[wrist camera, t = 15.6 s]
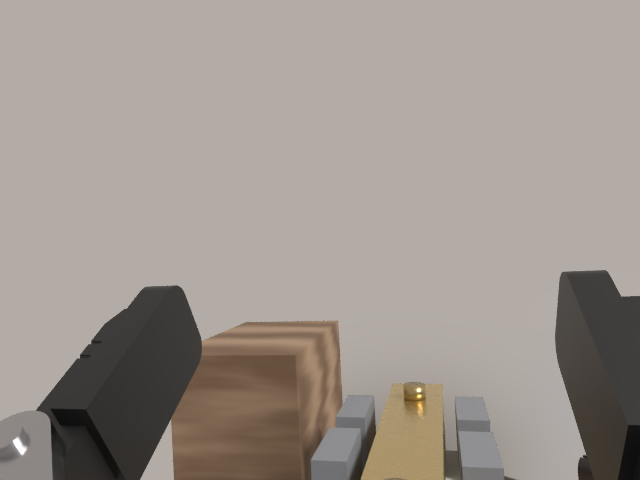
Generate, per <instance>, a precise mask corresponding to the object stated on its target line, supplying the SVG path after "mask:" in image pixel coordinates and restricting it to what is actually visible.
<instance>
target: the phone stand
mask: <svg viewBox="0 0 640 480" xmlns="http://www.w3.org/2000/svg"><path fill="white" fill-rule="evenodd" d="M578 477H579V480H594V478H593V475H592V472H591V468H590V465H589V462H588V459H587V456H585V455H583V458H580V460H579V463H578Z"/></svg>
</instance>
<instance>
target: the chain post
mask: <svg viewBox="0 0 640 480" xmlns="http://www.w3.org/2000/svg"><path fill="white" fill-rule="evenodd" d="M455 410H456V430H457V447H458V451H447V450H446V480H504V469H503V465H502V462H501V459H500V455H499V451H498V448H497V444H496V441H495V437H494V434H493V432H490V420H489V417H488V413H487V410H486V406H485V403H484V399H483V397H455ZM375 435H376V425H375V408H374V396H371V395H370V396H369V395H348V396H347V398H346V400H345V402H344V404H343V405H342V407H341V409H340V410H339V412H338V414H337V415H336V428H333V427H330V428H329V429H328V431H327V433H326V434H325V436H324V438H323V440H322V441H321V443H320V445H319V447H318V448H317V450H316V452H315V454H314V455H313V457H312V459H311V475H312V480H361V477H362V474H363V471H364V468H365V465H366V462H367V459H368V456H369V453H370V450H371V447H372V444H373V441H374V438H375Z"/></svg>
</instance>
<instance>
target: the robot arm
mask: <svg viewBox="0 0 640 480" xmlns="http://www.w3.org/2000/svg"><path fill="white" fill-rule="evenodd" d="M555 341H556V353H557V359H558V363H559V368H560V371H561V374H562V377H563V380H564V384H565V387H566V390H567V393H568V397H569V400H570V403H571V407H572V410H573V413H574V416H575V419H576V423H577V426H578V429H579V433H580V436H581V439H582V442H583V446H584V449H585V452H586V455H587V459H588V462H589V465H590V468H591V472H592V475H593V478H594V480H640V296H630V297H621V295H620V293H619V292H618V290H617V288H616V286H615V284H614V282H613V280H612V278H611V277H610V275H609V273H608V272H607V271H606V270H601V271H572V272H562V273H561V277H560V282H559V294H558V307H557V319H556V332H555ZM91 342H92V343H91V344H89V345H88V346H87V347H86V348H85V350H84V351H83V352H82V353H81V355H80V359H77V360H76V361H75V362H74V363H73V365H72V366H71V367H70V368H69V370H68V371H67V372H66V373H65V375H64V376H63V377H62V378H61V380H60V381H59V382H58V383H57V385H56V386H55V387H54V389H53V390H52V391H51V392H50V393H49V395H48V396H47V397H46V398H45V400H44V401H43V402H42V403H41V405H40V406H39V407H38V408H37V410H36V411H25V412H21V413H18V414H15V415H12V416H10V417H8V418H6V419H4V420H2V421H0V480H140V478H141V476H142V474H143V472H144V470H145V469H146V467H147V465H148V463H149V461H150V459H151V457H152V455H153V453H154V451H155V449H156V447H157V445H158V443H159V441H160V439H161V437H162V435H163V433H164V431H165V429H166V427H167V426H168V424H169V421H170V420H171V418H172V416H173V414H174V412H175V410H176V408H177V406H178V404H179V402H180V400H181V398H182V396H183V394H184V392H185V390H186V388H187V386H188V385H189V383H190V381H191V379H192V377H193V375H194V373H195V371H196V369H197V367H198V365H199V363H200V359H201V354H202V341H201V337H200V334H199V331H198V328H197V325H196V323H195V320H194V317H193V315H192V312H191V309H190V307H189V304H188V301H187V299H186V296H185V293H184V291H183V290H182V288H180V287H179V286H156V287H155V286H153V287H145V288H144V289H142V290H141V291H140V293H139V294H138V295H137V297H136V298H135V299H134V300H133V302H132V303H131V304H130V305H129V307H128V308H127V309H124V310H123V311H121V312H120V313H119V314H118V315H116V316H115V317H113V318H112V319H111V320H110V321H108V322H107V323H106V324H105V325H104V326H103V327H102V328H101V329H100V331H99V332H98V333H97V334H96V336H95V337H94V339H92V341H91Z"/></svg>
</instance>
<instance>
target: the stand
mask: <svg viewBox="0 0 640 480" xmlns="http://www.w3.org/2000/svg"><path fill="white" fill-rule="evenodd" d="M338 329H339V328H338V321H300V322H299V321H296V322H246V323H243V324H241V325H239V326H236V327H234V328H232V329H229V330H227V331H225V332H222V333H220V334H217V335H215V336H213V337H210V338H208V339H206V340H204V341H202V354H201V359H200V363H199V365H198V367H197V369H196V371H195V373H194V375H193V377H192V379H191V381H190V383H189V385H188V386H187V388H186V390H185V392H184V394H183V396H182V398H181V400H180V402H179V404H178V406H177V408H176V410H175V412H174V414H173V416H172V418H171V425H172V446H173V465H174V480H312V475H311V459H312V457H313V455H314V454H315V452H316V450H317V448H318V447H319V445H320V443H321V441H322V440H323V438H324V436H325V434H326V433H327V431H328V429H329V428H330V427H333V428H336V415H337V414H338V412H339V410H340V409H341V407H342V405H343V403H342V386H341V366H340V347H339V330H338Z"/></svg>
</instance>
